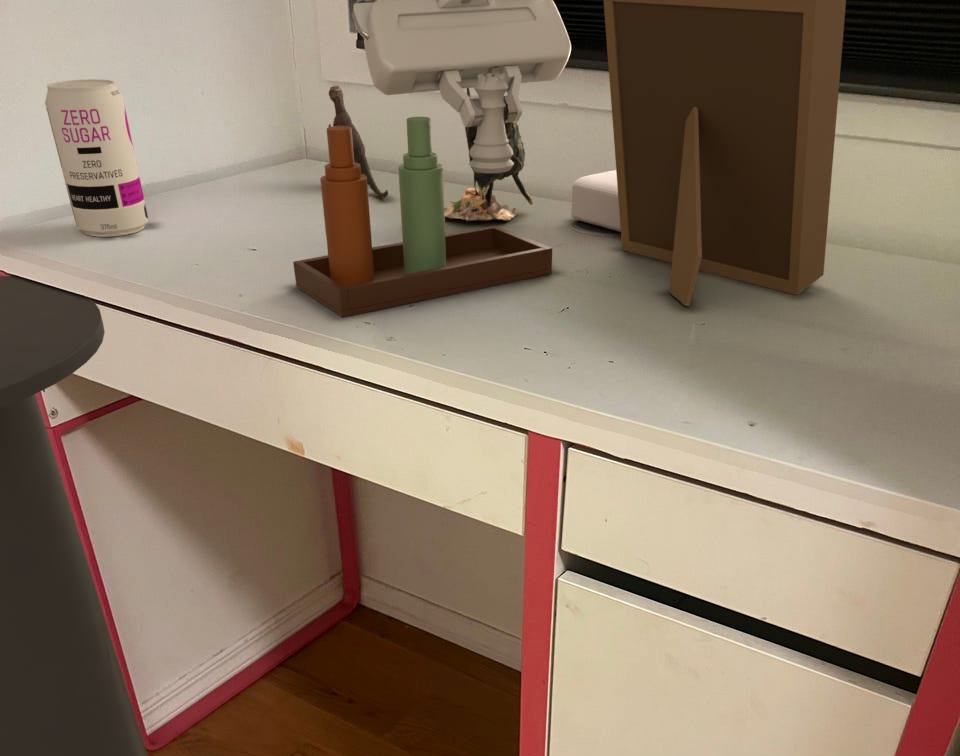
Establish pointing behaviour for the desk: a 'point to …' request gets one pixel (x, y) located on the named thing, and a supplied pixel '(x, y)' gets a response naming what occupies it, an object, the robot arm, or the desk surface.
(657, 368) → the desk surface
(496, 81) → the rook chess piece
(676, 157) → the photo frame
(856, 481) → the desk surface
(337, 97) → the dinosaur model
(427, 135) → the sage bottle
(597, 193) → the charger
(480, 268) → the tray
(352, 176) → the amber bottle
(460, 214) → the plant with pod
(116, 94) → the supplement can
